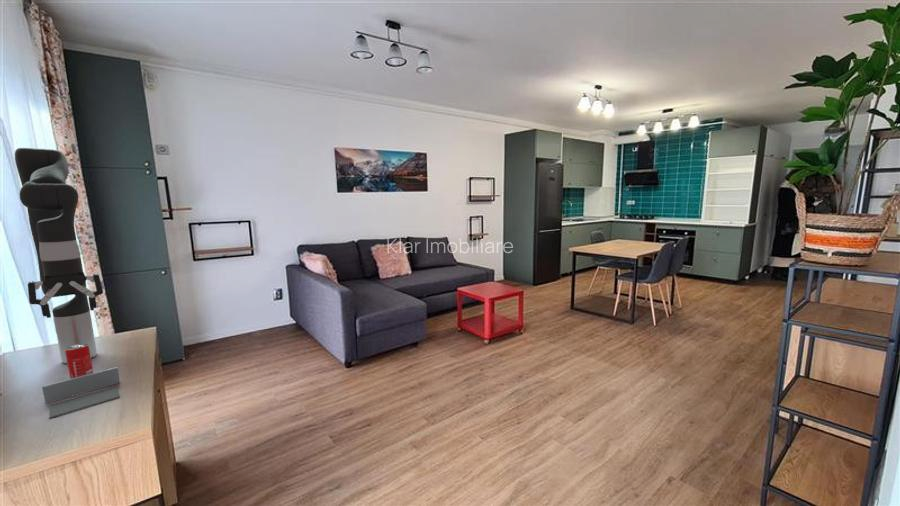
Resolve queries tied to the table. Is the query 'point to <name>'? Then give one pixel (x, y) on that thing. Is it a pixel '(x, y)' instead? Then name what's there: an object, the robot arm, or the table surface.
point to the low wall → (80, 384)
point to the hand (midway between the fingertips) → (71, 313)
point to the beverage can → (79, 360)
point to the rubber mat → (83, 401)
